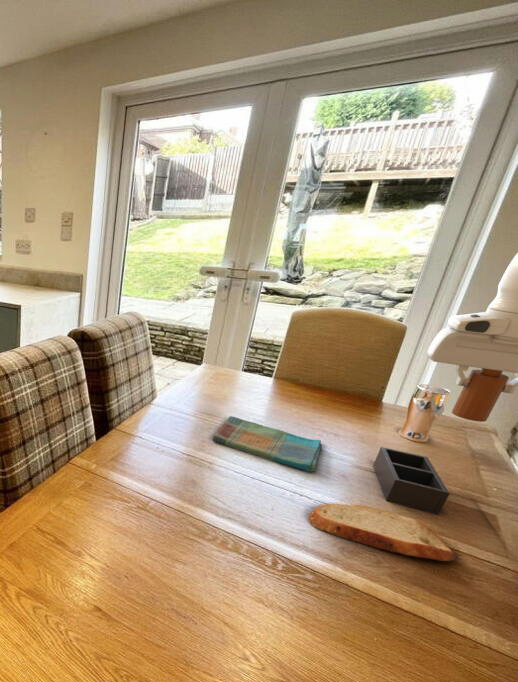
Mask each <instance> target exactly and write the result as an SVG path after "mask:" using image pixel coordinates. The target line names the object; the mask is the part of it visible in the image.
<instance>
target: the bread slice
mask: <svg viewBox="0 0 518 682" xmlns="http://www.w3.org/2000/svg"><path fill="white" fill-rule="evenodd" d="M307 519H308V522H309V523H310V524H311V526H313V527H314V528H317V529H318V530H321V531H325V532H327V533H329V534H331V535H334V536H337V537H339V538H343V539H346V540H349V541H351V542H356V543H360V544H363V545H368V546H370V547H373V548H376V549H379V550H386V551H388V552H389V553H397V554H400V555H402V556H408V557H414V558H417V559H428V560H433V561H440V562H450V561H453V560H454V559H455V552H454V551H453V550H452V548H450V547H449V546H448V545H447V544H446V542H444V541H443V540H442V538H441V537H439V536H438V535H437V533H436V532H434V530H432V529H431V528H430V527H428V526H427V525H426V524H424V523H423V522H421V521H419V520H418V519H415V518H412V517H409V516H405V515H402V514H399V513H396V512H392V511H390V510H387V509H382V508H378V507H371V506H367V505H362V504H341V503H327V504H320V505H318V506H315V508H314V509H312V511H311V512H310V513H309V514H308V518H307Z"/></svg>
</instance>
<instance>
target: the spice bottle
mask: <svg viewBox="0 0 518 682" xmlns="http://www.w3.org/2000/svg"><path fill="white" fill-rule="evenodd" d="M503 372H504V371H498V370H491V369H484V368H480V369H472V370H471V371H470V373H469V375H468V376H467V377H468V378H469V379H471V380H470V382H469V383H468V386H467V387H466V386H462V389H461V391H460V393H459V395H458V398H457V400H456V402H455V404H454V406H453V408H452V410H451V414H452V415H454V416H456V417H459V418H461V419H464V420H467V421H472V422H479V423H483V422H486V421H487V420H488V418H489V417H490V415H491V413H492V411H493V410H494V407H495V406H496V403H498V400H499V398H500V396H501V394H502V393H503V392H502V390H503V388H504V386H505V384H506V383H508V382H509V379H510V377H509V376H507V375H506V374H503Z"/></svg>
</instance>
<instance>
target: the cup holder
mask: <svg viewBox="0 0 518 682" xmlns="http://www.w3.org/2000/svg"><path fill="white" fill-rule="evenodd" d="M372 467H373V470H374V472H375V475H376V478H377V481H378V483H379V486H380V488H381V491H382V493H383V496H384V499H385V501H386V502H388V503H393V504H397V505H400V506H405V507H408V508H412V509H415V510H419V511H422V512H425V513H430V514H434V515H437V516H439V515H440V513H441V511H442V510H443V508H444V505H445V504H446V502H447V500H448V498H449V495H450V491H449V489H448V488H447V486H446V485H445V483H444V482H443V480H442V478H441V477H440V475H439V474H438V472H437V470H436V469H435V467H434V465H433V464H432V462H431V461H430V459H429V457H428V456H425V455H420V454H415V453H411V452H408V451H402V450H399V449H393V448H389V447H385V446H380V448H379V451H378V453H377V456H376V457H375V460H374V462H373V465H372Z"/></svg>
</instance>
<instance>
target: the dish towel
mask: <svg viewBox="0 0 518 682" xmlns="http://www.w3.org/2000/svg"><path fill="white" fill-rule="evenodd" d="M212 441H213V442H215V443H218V444H221V445H224V446H227V447H230V448H232V449H237V450H239V451H243V452H246V453H250V454H253V455H256V456H258V457H262V458H264V459H267V460H270V461H273V462H276V463H280V464H283V465H287V466H289V467H292V468H296V469H300V470H302V471H305V472H308V473H310V472H313V473H314V472H315V470H316V466H317V462H318V460H319V456H320V453H321V452H322V450H323V444H322V440H321V439H312V438H306V437H303V436H299V435H296V434H293V433H289V432H286V431H283V430H281V429H277V428H274V427H271V426H267V425H262V424H260V423H256V422H254V421H249V420H246V419H241V418H239V417H237V416H233V415H231V416H228V418H227V419H226V421H225V422H224V423H223V424H222V425H221V427H220V428H219V430H217V432H216V433H215V434H213V438H212Z"/></svg>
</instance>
